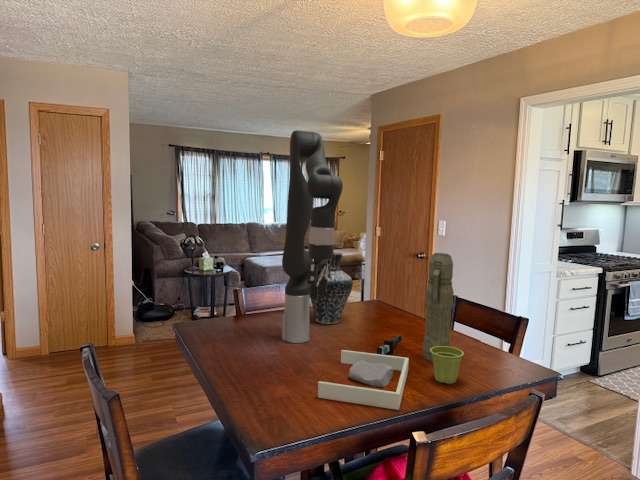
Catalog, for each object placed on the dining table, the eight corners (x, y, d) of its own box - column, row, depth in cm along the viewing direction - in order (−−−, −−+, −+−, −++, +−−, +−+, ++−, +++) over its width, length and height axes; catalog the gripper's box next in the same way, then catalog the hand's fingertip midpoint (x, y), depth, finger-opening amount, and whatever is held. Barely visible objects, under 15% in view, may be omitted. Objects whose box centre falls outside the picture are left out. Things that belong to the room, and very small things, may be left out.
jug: (309, 314, 198) (311, 248, 196) (352, 317, 196) (355, 250, 193) (301, 327, 178) (303, 253, 175) (349, 330, 175) (351, 255, 173)
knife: (380, 361, 138) (381, 347, 138) (371, 359, 140) (372, 345, 140) (408, 345, 165) (409, 333, 165) (400, 343, 167) (401, 331, 167)
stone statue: (419, 361, 143) (424, 254, 140) (425, 350, 154) (430, 251, 151) (447, 366, 140) (453, 256, 137) (451, 354, 151) (457, 253, 148)
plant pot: (442, 388, 123) (444, 358, 122) (422, 376, 131) (423, 347, 130) (469, 384, 126) (470, 354, 126) (447, 372, 135) (448, 344, 134)
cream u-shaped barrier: (317, 397, 115) (318, 382, 115) (341, 361, 141) (341, 349, 141) (398, 409, 109) (399, 394, 109) (408, 370, 135) (408, 357, 135)
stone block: (385, 395, 122) (395, 376, 131) (384, 380, 121) (394, 361, 129) (345, 388, 127) (357, 369, 136) (344, 373, 126) (356, 356, 135)
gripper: (317, 239, 139) (314, 289, 141) (301, 243, 126) (298, 298, 127) (340, 241, 137) (336, 292, 138) (326, 245, 123) (322, 302, 125)
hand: (318, 295), depth 133 cm, fingers open, 8 cm apart
